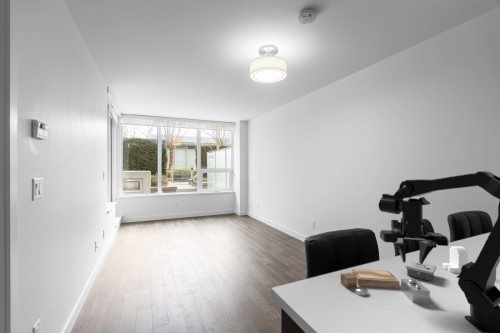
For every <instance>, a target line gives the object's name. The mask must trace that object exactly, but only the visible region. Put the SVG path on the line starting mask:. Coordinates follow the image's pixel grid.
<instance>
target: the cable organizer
mask: <svg viewBox="0 0 500 333" xmlns="http://www.w3.org/2000/svg"><path fill="white" fill-rule="evenodd" d="M468 257H469V256H468V251H467V249H466V248H465V247H464V246H459V245H458V246H453V245H452V246H450V248H449V262H448V263H447V262H443V263H442V269H444V270H447V272H449V273H452V274H460V272H461V268H462V266H463V265H465V264H467V263H469V260H468V259H469V258H468Z"/></svg>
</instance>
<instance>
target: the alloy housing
mask: <svg viewBox="0 0 500 333" xmlns="http://www.w3.org/2000/svg"><path fill="white" fill-rule="evenodd" d="M400 280H401V281H400V283H401V285H400V286H401V288H400V289H401V292H402V293H403V294H404V296H406V297H407V299H408V300H410V302H411V303H413V304H424V305H425V304H426V305H430V304H431V290H429V289H428V288H427V287H426V286H424V285H423V284H422V283H421V282H420V281H419V280H418V279H414V278H401V279H400Z"/></svg>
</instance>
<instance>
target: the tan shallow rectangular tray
mask: <svg viewBox="0 0 500 333" xmlns="http://www.w3.org/2000/svg"><path fill="white" fill-rule="evenodd" d="M351 273H352V274H353V275H354V276H356V277H357V287H373V288H387V289H388V288H389V289H400V280H399V279H398V278H397V277H396V276H395V275H394V274H393V273H392V272H391V271H389V270H375V269H361V268H360V269H359V268H352V269H351Z"/></svg>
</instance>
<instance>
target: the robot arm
mask: <svg viewBox="0 0 500 333" xmlns="http://www.w3.org/2000/svg"><path fill="white" fill-rule="evenodd" d="M471 187H472V188H473V187H479V188H480V189H483V190H484V191H485V192H487V193H488V194H490V195H491V196H493V197H494V198H495V199H498V200H499V201H498V205H497V219H496V220H495V222H494V225H493V227H492V229H491V231H490V232H489V235H488V236H487V239H486V240H485V243H484V244H483V246H482V248H481V250H480V252H479V254H478V256H477V258H476V260H475V262H473V261H468V263H467V264H465V265H463V266H462V268H461V272H460V273H458V275H456V279H457V285H458V287H459V289H460V290H461V291H462V292H463V294H464V296H465V298H466V301H467V304H468V305H469V315H464V319H465V320H466V321H468V322H469V323H470V324H471V325H472V326H474V327H475V328H476V329H477V330H478V331H480V332H481V333H500V289H499V288H498V287H496V285H495V284H496V279H497V268H498V266H499V264H500V176H498V175H496V174H494V173H492V172H490V171H487V170H484V171H476V172H473V173H466V174H458V175H453V176H447V177H446V176H445V177H440V178H433V179H426V178H425V179H424V178H423V179H417V178H415V179H405V180H402V181H401V182H400V184H399V186H398V189H396V192H395V193H394V194H389V193H382V195H381V198H380V199H379V202H378V209H379V211H380V212H382V213H388V214H392V215H393V214H394V215H400V214H402V216H401V217H400V218H401V219H400V221H399V220H398V219H391V220H390V222H391V223H390V225H391V226H390V227H391V230H387V229H381V230H380V232H379V238H380V239H381V240H382V241H383V242H385V243H392V244H394V245H395V246H396V248H397V250H398V252H399V255H400V257H401V260H402V263H403V264H405V263H406V261H407V259H406V258H407V256H406V253H407V252H406V249H407V248H406V246H407V245H406V244H405V242H404V241H416V242H417V241H418V243H419V258H418V259H419V261H418V262H420V264H423V263H425V260H426V258H427V257H428V256H429V254H430V252H432V250H433V249H435V248H436V249H437V246H442V247H443V246H444V247H449V239H448V237H447V236H446V235H443V234H442V233H439V232H427V233H426V234H424V233H423V232H424V231H423V230H424V229H423V227H424V226H425V222H424V220H423V219H424V218H423V216H424V215H423V213H424V211H423V208H424V207H423V206H428V205H431V202H430V201H428V199H426V198H425V196H424V195H429V194H430V193H431V194H432V193H434V192H437V191H443V190H445V191H446V190H452V189H453V190H454V189H462V188H471ZM413 197H414V198H413ZM415 197H419V198H415ZM404 199H405V200H404ZM406 199H407V200H406ZM393 230H396V232H395V231H393Z"/></svg>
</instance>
